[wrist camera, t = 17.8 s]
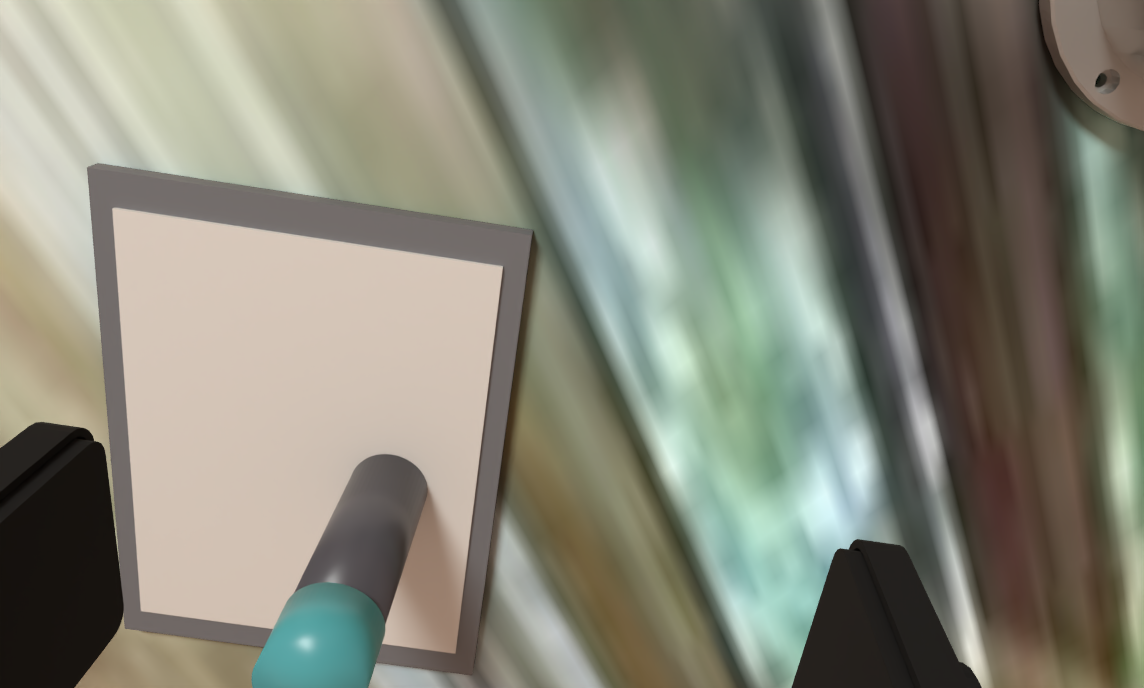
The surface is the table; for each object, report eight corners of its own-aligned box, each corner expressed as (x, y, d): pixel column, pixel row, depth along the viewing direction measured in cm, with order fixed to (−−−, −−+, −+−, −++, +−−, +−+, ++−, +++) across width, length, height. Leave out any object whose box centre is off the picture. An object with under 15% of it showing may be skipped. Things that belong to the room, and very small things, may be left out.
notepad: (533, 229, 35) (531, 236, 34) (474, 663, 45) (471, 678, 44) (98, 163, 35) (84, 168, 34) (132, 617, 44) (122, 631, 43)
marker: (432, 458, 39) (367, 651, 28) (426, 526, 40) (362, 734, 29) (350, 446, 38) (251, 635, 27) (346, 515, 40) (251, 720, 29)
